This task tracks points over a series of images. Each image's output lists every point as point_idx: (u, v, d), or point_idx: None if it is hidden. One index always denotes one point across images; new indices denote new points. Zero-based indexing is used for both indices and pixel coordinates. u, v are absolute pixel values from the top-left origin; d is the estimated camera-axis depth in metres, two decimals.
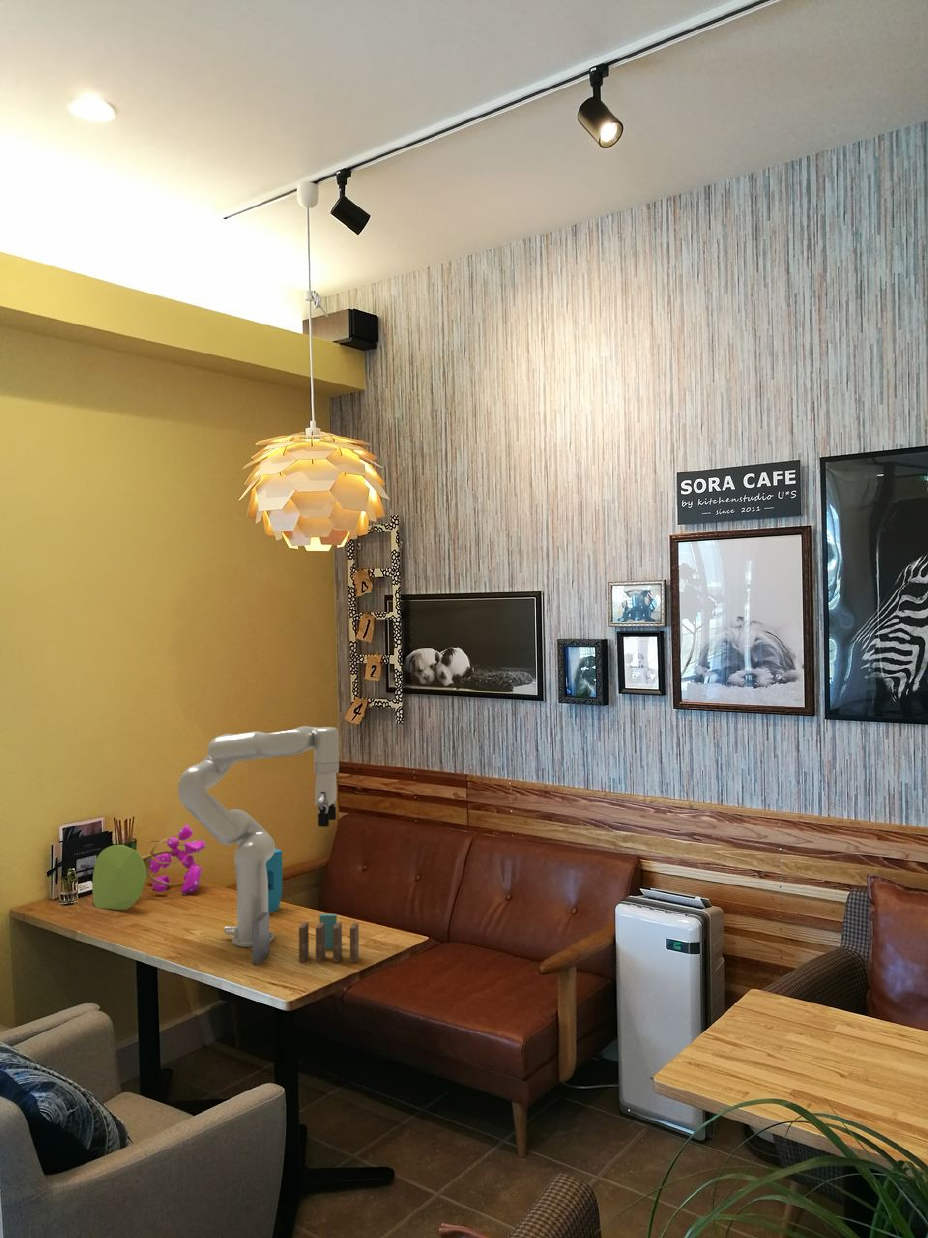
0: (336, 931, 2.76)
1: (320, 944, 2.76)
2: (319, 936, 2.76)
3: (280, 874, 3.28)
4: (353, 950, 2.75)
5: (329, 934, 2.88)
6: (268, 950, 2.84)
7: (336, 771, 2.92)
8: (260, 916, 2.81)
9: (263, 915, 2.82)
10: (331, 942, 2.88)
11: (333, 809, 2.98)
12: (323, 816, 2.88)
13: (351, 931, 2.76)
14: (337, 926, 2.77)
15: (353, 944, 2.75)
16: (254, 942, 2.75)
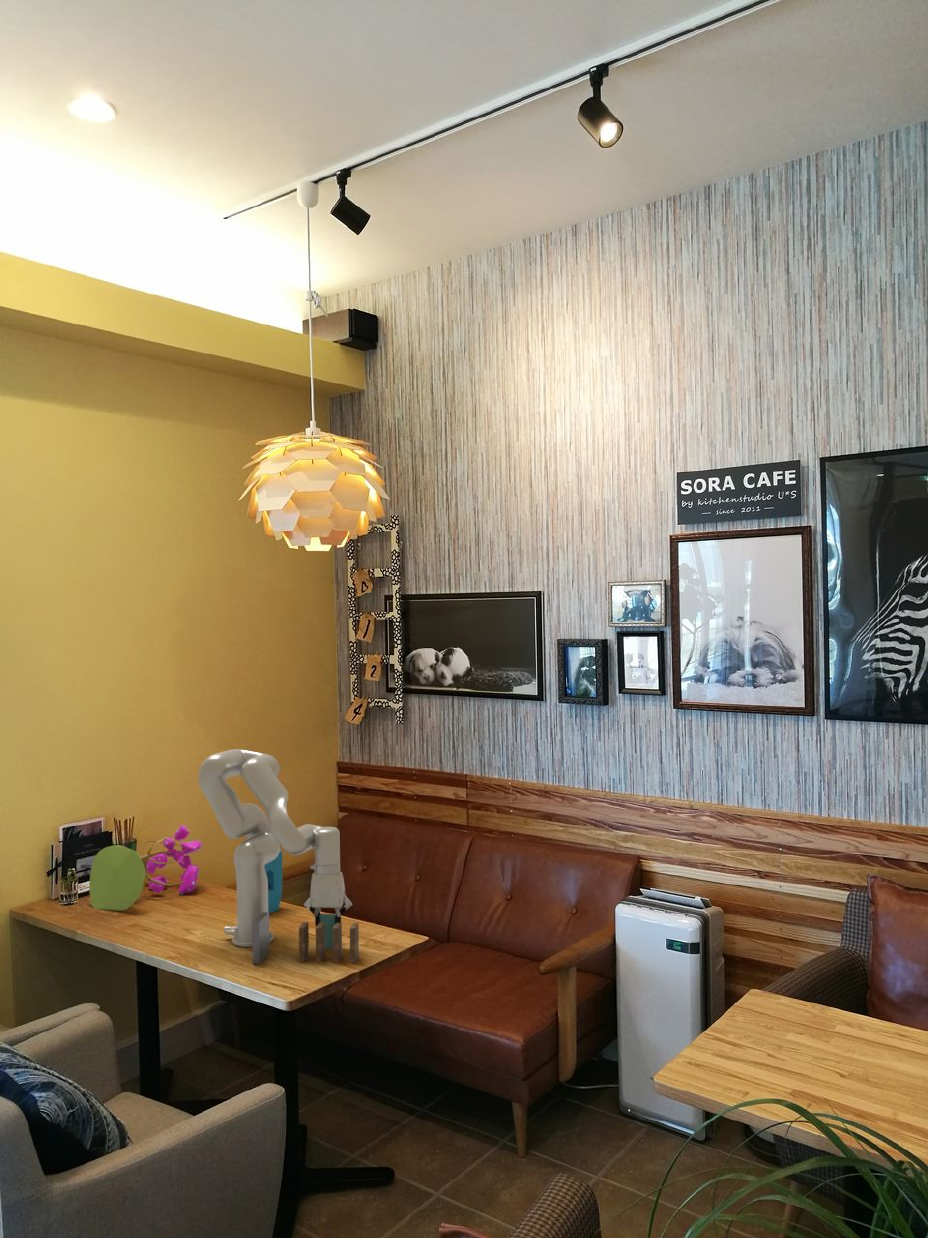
0: (336, 931, 2.76)
1: (320, 944, 2.76)
2: (319, 936, 2.76)
3: (280, 874, 3.28)
4: (353, 950, 2.75)
5: (329, 934, 2.88)
6: (268, 950, 2.84)
7: None
8: (260, 916, 2.81)
9: (263, 915, 2.82)
10: (331, 942, 2.88)
11: None
12: (340, 918, 2.89)
13: (351, 931, 2.76)
14: (337, 926, 2.77)
15: (353, 944, 2.75)
16: (254, 942, 2.75)
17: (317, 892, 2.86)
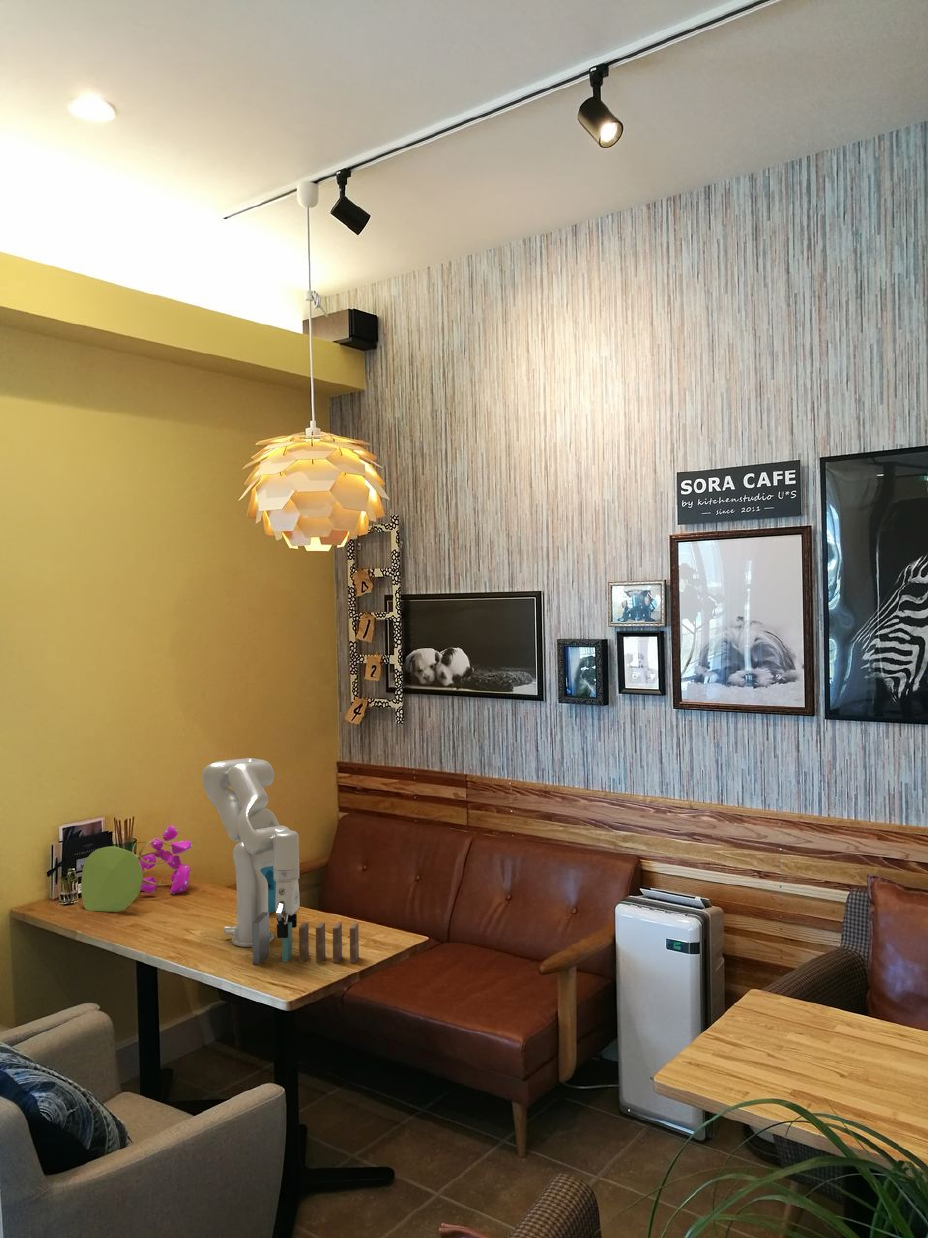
0: (336, 931, 2.76)
1: (320, 944, 2.76)
2: (319, 936, 2.76)
3: None
4: (353, 950, 2.75)
5: (290, 943, 2.80)
6: (268, 950, 2.84)
7: None
8: (260, 916, 2.81)
9: (263, 915, 2.82)
10: (291, 951, 2.81)
11: None
12: None
13: (351, 931, 2.76)
14: (337, 926, 2.77)
15: (353, 944, 2.75)
16: (254, 942, 2.75)
17: (293, 898, 2.77)
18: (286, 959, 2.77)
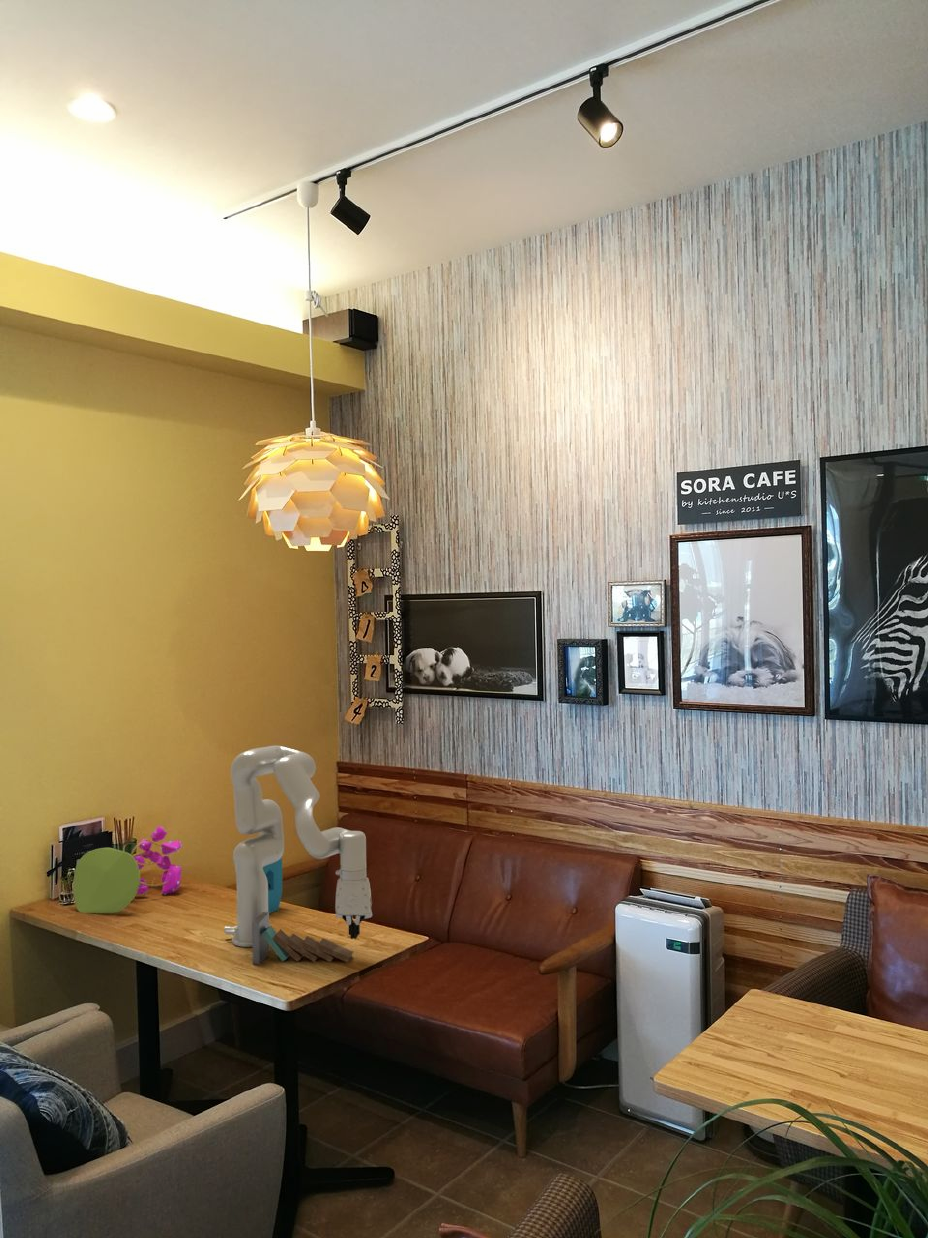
0: (304, 944, 2.77)
1: (301, 948, 2.77)
2: (294, 945, 2.77)
3: (280, 874, 3.28)
4: (337, 954, 2.76)
5: None
6: (268, 950, 2.84)
7: None
8: (260, 916, 2.81)
9: (263, 915, 2.82)
10: None
11: None
12: (359, 926, 2.78)
13: (319, 948, 2.76)
14: (303, 941, 2.78)
15: (331, 952, 2.76)
16: (254, 942, 2.75)
17: (343, 899, 2.76)
18: (284, 957, 2.77)
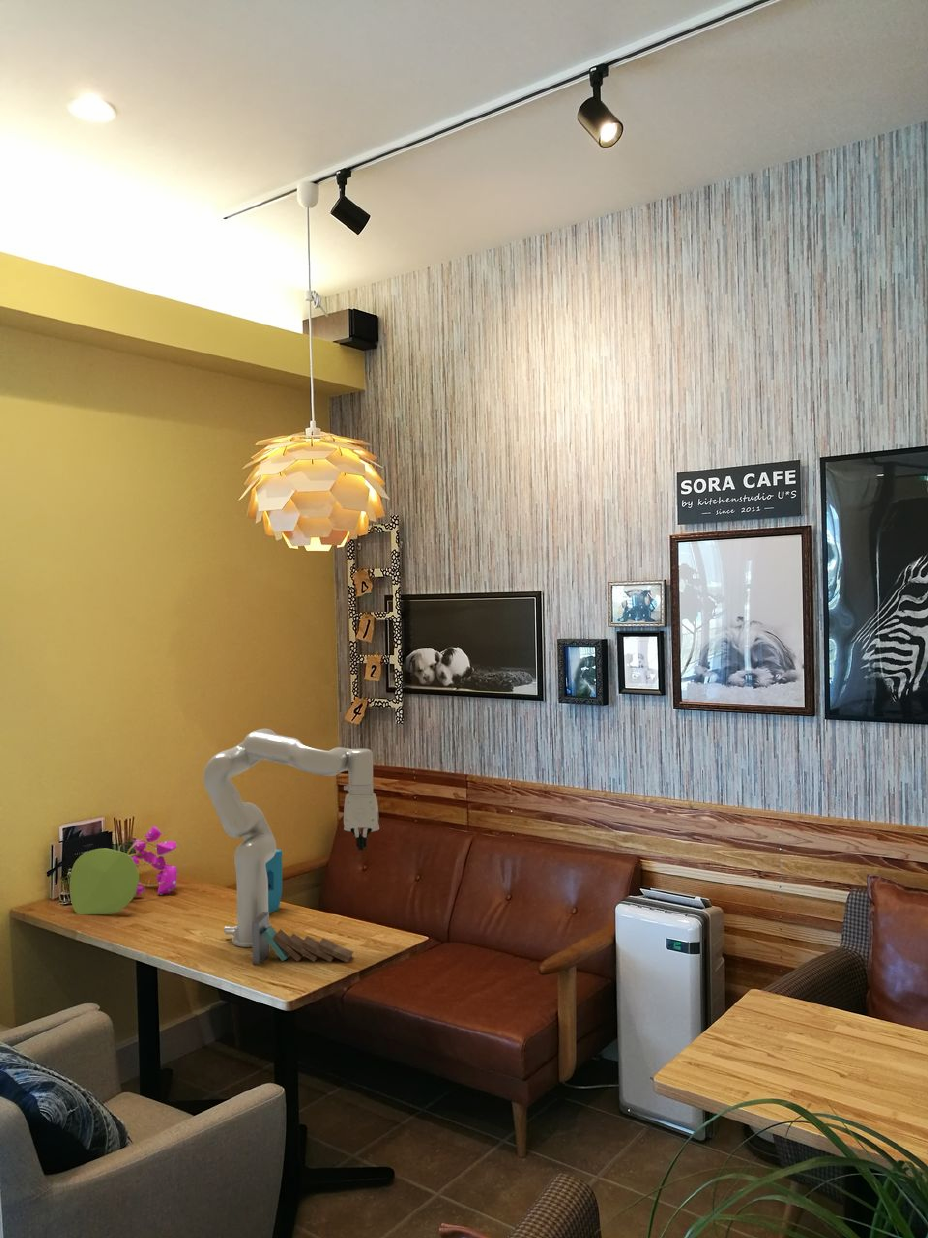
0: (304, 944, 2.77)
1: (301, 948, 2.77)
2: (294, 945, 2.77)
3: (280, 874, 3.28)
4: (337, 954, 2.76)
5: None
6: (268, 950, 2.84)
7: None
8: (260, 916, 2.81)
9: (263, 915, 2.82)
10: None
11: None
12: (366, 839, 2.91)
13: (319, 948, 2.76)
14: (303, 941, 2.78)
15: (331, 952, 2.76)
16: (254, 942, 2.75)
17: (351, 812, 2.89)
18: (284, 957, 2.77)
